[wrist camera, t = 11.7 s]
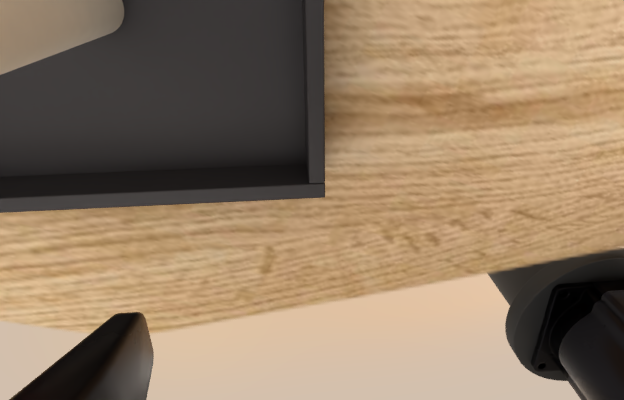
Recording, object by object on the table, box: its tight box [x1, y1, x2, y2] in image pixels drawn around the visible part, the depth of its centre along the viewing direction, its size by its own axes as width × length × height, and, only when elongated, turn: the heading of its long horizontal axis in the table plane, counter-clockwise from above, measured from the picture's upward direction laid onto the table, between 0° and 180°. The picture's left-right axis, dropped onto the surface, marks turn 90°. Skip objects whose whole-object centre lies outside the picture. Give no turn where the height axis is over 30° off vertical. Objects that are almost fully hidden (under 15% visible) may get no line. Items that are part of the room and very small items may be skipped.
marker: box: [0, 0, 124, 75], centre depth 10 cm, size 2×2×11 cm
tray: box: [0, 0, 325, 213], centre depth 14 cm, size 13×15×3 cm
